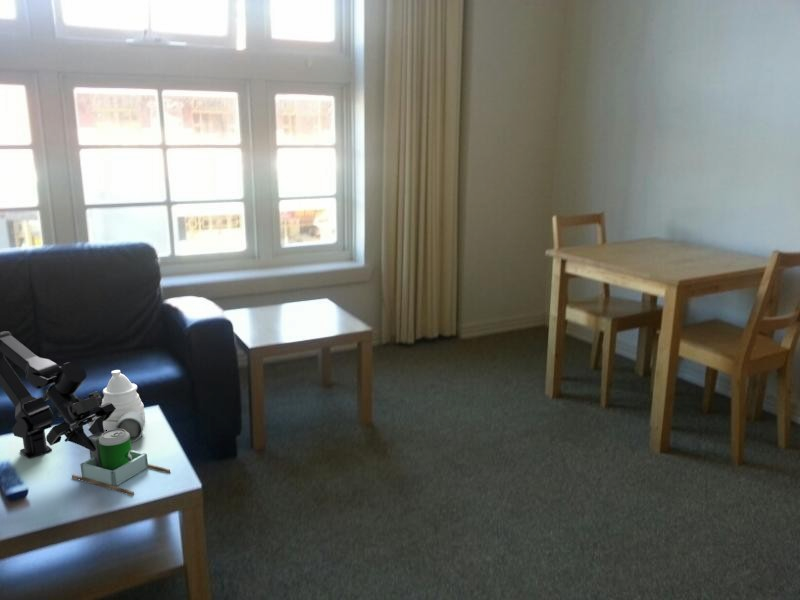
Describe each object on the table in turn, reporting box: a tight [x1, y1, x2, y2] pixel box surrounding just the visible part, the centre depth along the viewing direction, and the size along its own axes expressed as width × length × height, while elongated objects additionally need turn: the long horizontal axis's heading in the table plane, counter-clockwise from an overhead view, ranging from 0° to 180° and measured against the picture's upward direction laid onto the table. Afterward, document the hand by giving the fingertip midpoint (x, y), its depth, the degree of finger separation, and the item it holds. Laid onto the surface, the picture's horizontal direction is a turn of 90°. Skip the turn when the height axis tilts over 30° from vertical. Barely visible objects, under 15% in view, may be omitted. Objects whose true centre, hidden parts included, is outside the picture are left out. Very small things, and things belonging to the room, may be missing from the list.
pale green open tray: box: [80, 432, 149, 487], centre depth 177 cm, size 13×12×10 cm
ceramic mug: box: [115, 411, 145, 443], centre depth 199 cm, size 11×8×8 cm
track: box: [71, 463, 171, 496], centre depth 177 cm, size 22×13×1 cm, turn 65°
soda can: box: [99, 429, 132, 471], centre depth 176 cm, size 8×8×12 cm
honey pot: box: [101, 369, 146, 431], centre depth 208 cm, size 13×13×18 cm
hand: (100, 447), depth 179 cm, fingers closed on pale green open tray, 3 cm apart
